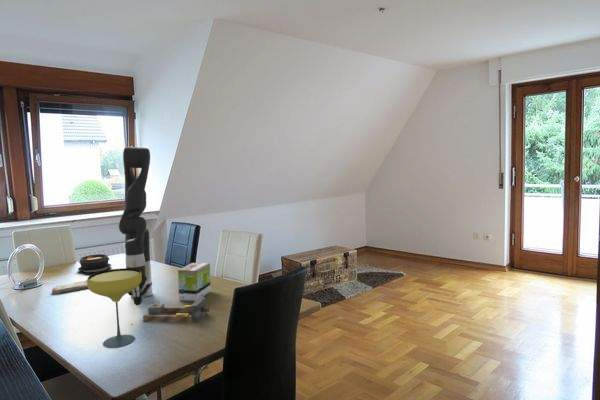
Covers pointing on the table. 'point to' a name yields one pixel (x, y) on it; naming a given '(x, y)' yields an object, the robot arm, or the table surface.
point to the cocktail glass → (115, 295)
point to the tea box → (194, 281)
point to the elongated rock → (70, 287)
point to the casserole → (94, 263)
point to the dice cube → (156, 309)
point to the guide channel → (181, 313)
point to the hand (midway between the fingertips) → (138, 304)
